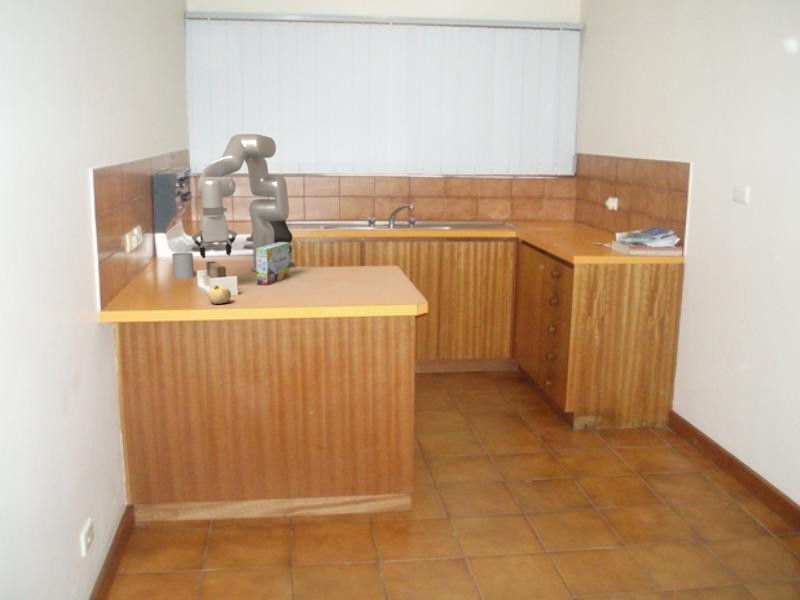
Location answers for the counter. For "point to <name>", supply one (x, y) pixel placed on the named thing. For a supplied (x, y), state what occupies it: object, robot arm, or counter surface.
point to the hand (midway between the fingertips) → (216, 256)
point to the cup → (183, 265)
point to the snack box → (273, 262)
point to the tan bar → (215, 270)
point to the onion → (219, 294)
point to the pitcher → (280, 232)
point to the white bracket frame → (215, 282)
